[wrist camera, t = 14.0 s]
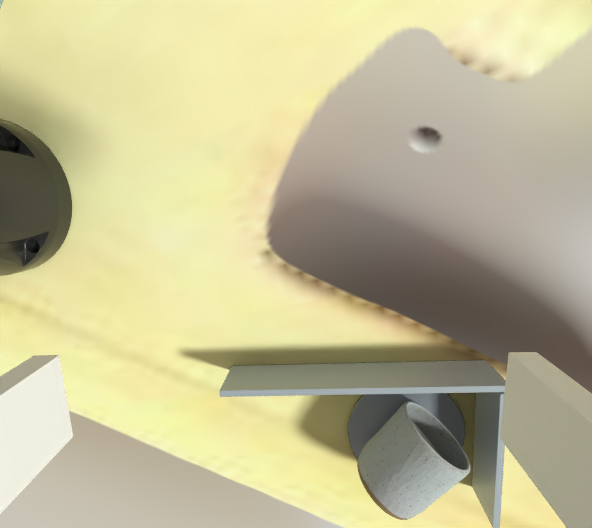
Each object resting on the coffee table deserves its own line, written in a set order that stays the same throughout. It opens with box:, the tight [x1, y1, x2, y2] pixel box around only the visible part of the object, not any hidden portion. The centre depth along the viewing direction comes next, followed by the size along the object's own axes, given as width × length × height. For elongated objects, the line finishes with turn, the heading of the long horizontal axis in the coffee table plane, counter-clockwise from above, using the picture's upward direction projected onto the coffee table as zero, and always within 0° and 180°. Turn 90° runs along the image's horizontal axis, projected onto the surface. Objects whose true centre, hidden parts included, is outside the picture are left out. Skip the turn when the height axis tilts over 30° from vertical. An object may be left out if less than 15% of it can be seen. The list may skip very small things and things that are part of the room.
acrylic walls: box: [220, 360, 506, 528], centre depth 37 cm, size 26×15×5 cm, turn 93°
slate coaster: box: [348, 393, 465, 460], centre depth 39 cm, size 12×12×1 cm
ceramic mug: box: [358, 401, 471, 520], centre depth 35 cm, size 11×8×8 cm
